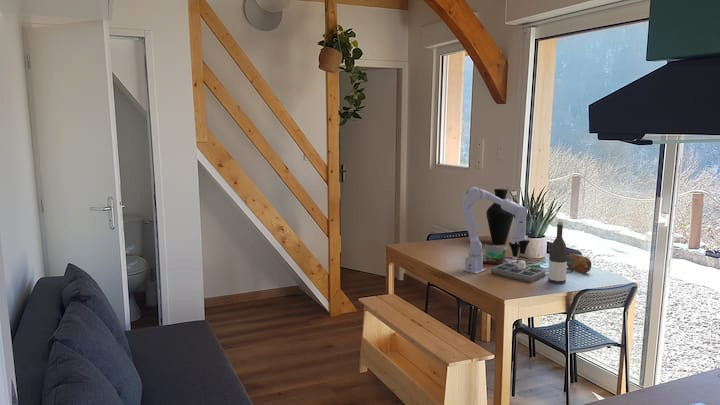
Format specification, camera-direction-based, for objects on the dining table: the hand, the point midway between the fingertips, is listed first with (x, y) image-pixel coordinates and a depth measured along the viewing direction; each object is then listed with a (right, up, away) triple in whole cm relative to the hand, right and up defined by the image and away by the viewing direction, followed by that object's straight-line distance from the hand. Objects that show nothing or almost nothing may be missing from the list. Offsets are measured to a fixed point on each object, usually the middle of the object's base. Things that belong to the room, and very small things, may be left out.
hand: (518, 255), depth 263 cm
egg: (+1, -9, -1) cm, 9 cm away
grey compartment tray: (-1, -10, -3) cm, 10 cm away
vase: (+7, +1, +65) cm, 65 cm away
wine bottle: (+14, -12, -14) cm, 23 cm away
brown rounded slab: (+33, -9, +4) cm, 34 cm away
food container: (-8, -7, +19) cm, 21 cm away
